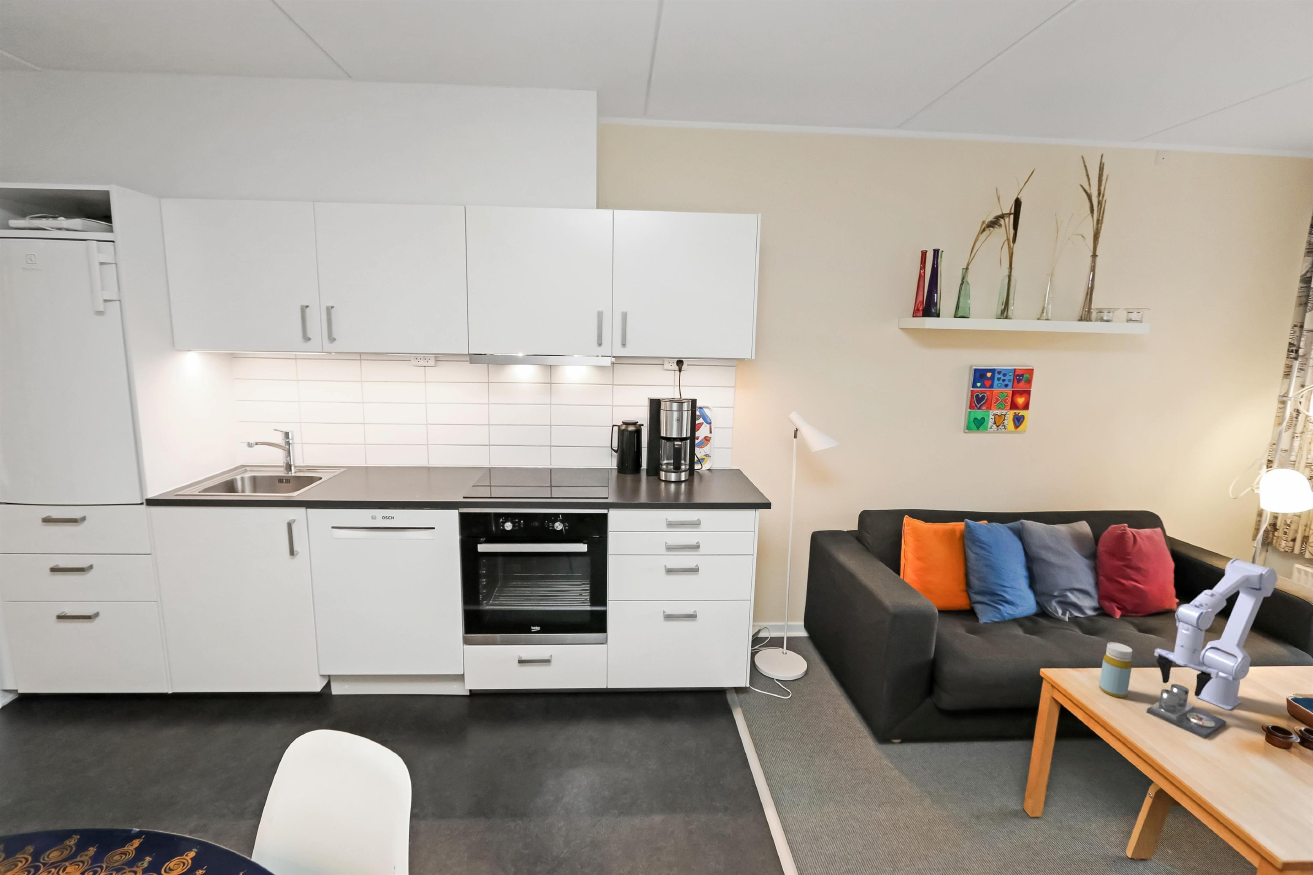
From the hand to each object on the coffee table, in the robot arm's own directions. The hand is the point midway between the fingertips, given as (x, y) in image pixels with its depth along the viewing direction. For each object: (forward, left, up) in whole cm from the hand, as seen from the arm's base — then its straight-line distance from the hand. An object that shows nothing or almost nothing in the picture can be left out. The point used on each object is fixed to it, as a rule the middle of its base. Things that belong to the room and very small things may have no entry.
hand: (1181, 688), depth 178 cm
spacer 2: (+1, 0, -5) cm, 5 cm away
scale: (+4, +3, -7) cm, 8 cm away
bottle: (+7, -14, -7) cm, 17 cm away
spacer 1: (+7, 0, -5) cm, 9 cm away
